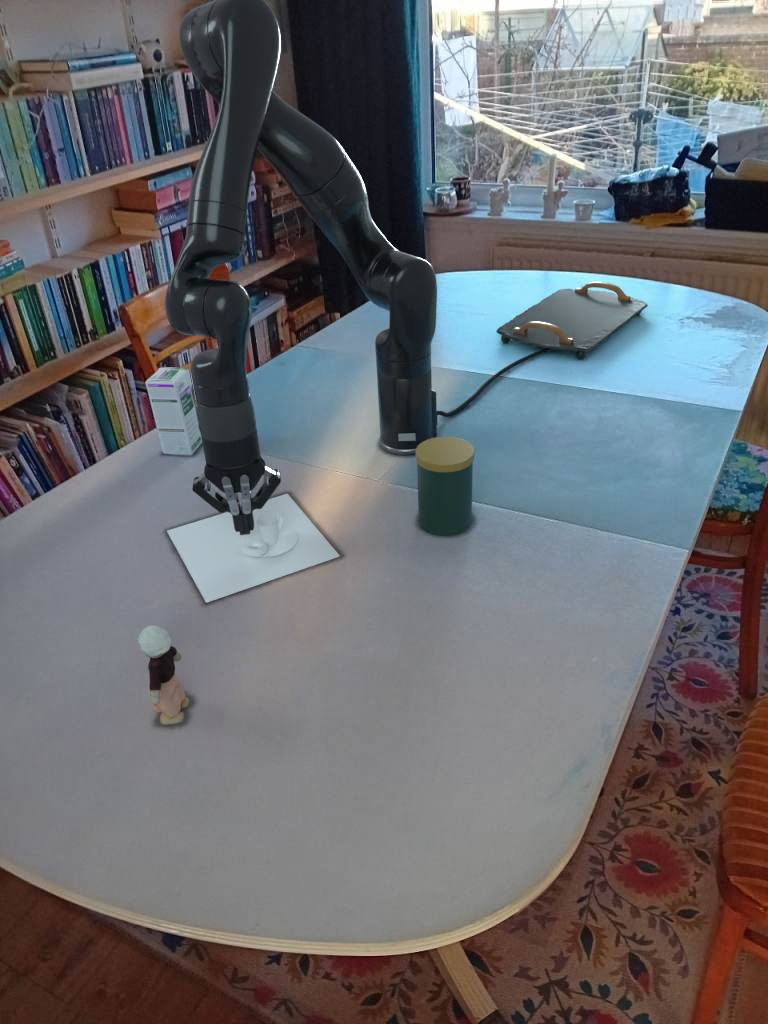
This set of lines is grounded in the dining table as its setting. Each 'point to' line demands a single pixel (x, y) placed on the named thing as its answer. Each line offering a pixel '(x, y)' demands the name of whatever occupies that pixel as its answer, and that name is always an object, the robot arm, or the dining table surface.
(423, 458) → the tea tin
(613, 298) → the serving tray
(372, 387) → the dining table surface
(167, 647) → the grandmother figurine
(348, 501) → the dining table surface
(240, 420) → the robot arm
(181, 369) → the syrup box
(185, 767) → the dining table surface
